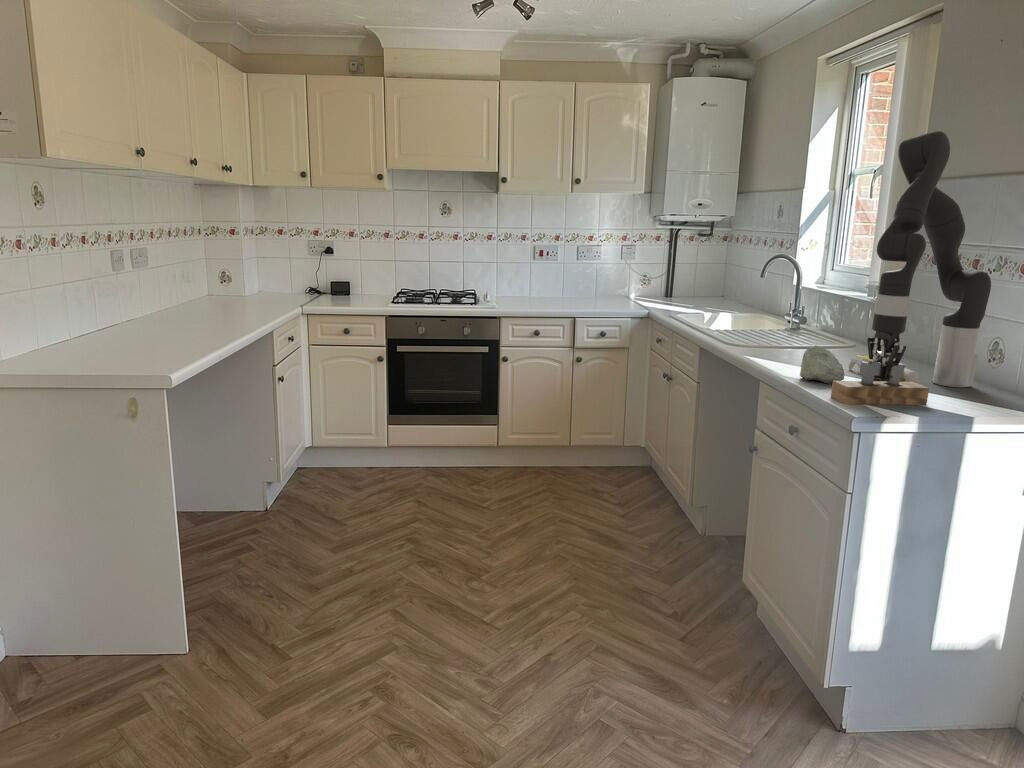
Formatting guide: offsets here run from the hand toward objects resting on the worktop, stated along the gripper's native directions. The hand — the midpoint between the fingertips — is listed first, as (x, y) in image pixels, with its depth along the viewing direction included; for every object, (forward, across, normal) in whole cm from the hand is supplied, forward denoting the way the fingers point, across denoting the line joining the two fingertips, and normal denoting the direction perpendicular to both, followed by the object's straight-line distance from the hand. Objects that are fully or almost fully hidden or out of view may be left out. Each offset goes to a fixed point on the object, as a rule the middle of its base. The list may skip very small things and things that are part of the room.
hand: (880, 378), depth 185 cm
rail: (+6, 0, 0) cm, 6 cm away
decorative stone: (+6, +23, +4) cm, 24 cm away
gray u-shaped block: (+4, 0, 0) cm, 4 cm away
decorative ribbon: (+6, +25, -17) cm, 31 cm away
